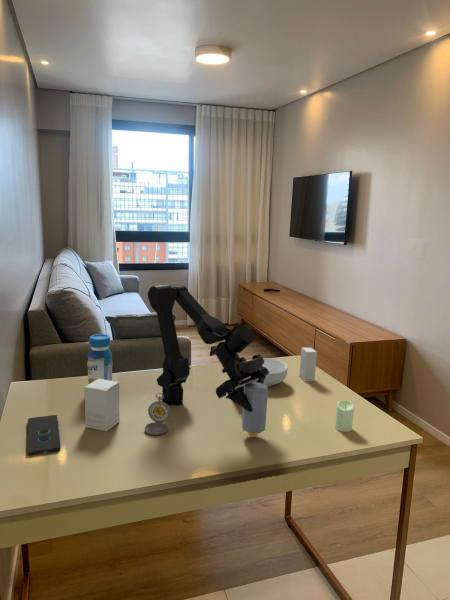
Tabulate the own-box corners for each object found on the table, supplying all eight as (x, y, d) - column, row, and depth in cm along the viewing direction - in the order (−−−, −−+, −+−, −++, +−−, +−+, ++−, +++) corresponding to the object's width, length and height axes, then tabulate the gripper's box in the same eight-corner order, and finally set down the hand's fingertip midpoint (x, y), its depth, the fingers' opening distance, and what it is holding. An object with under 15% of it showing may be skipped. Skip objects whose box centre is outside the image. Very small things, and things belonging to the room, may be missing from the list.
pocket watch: (148, 438, 127) (149, 404, 125) (139, 425, 134) (140, 393, 132) (176, 432, 131) (176, 400, 129) (166, 420, 138) (166, 389, 136)
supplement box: (120, 421, 136) (120, 381, 133) (106, 432, 129) (106, 390, 126) (99, 416, 138) (98, 377, 136) (84, 427, 131) (83, 386, 129)
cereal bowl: (244, 373, 182) (245, 356, 180) (286, 376, 179) (287, 359, 178) (240, 388, 165) (241, 370, 164) (286, 393, 163) (287, 374, 162)
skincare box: (314, 381, 176) (317, 351, 173) (304, 381, 175) (307, 352, 173) (308, 375, 182) (311, 347, 179) (298, 376, 181) (301, 347, 178)
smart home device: (26, 451, 115) (27, 417, 133) (26, 458, 115) (27, 423, 133) (61, 446, 118) (57, 414, 136) (61, 452, 118) (57, 419, 136)
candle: (350, 433, 135) (353, 407, 133) (333, 430, 137) (336, 404, 135) (352, 426, 140) (355, 401, 138) (335, 423, 141) (338, 398, 140)
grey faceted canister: (255, 435, 125) (258, 393, 123) (237, 427, 129) (239, 386, 127) (269, 427, 130) (272, 387, 128) (251, 420, 134) (253, 380, 132)
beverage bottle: (116, 394, 155) (116, 338, 151) (92, 399, 150) (91, 341, 146) (107, 386, 162) (107, 332, 158) (84, 390, 157) (83, 334, 153)
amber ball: (248, 439, 128) (249, 429, 128) (246, 434, 131) (247, 424, 131) (259, 439, 129) (259, 429, 128) (256, 434, 132) (257, 424, 131)
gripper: (225, 353, 120) (256, 405, 116) (266, 340, 135) (295, 385, 130) (203, 373, 127) (231, 423, 122) (243, 359, 141) (270, 403, 136)
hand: (258, 407), depth 127 cm, fingers closed on grey faceted canister, 6 cm apart
